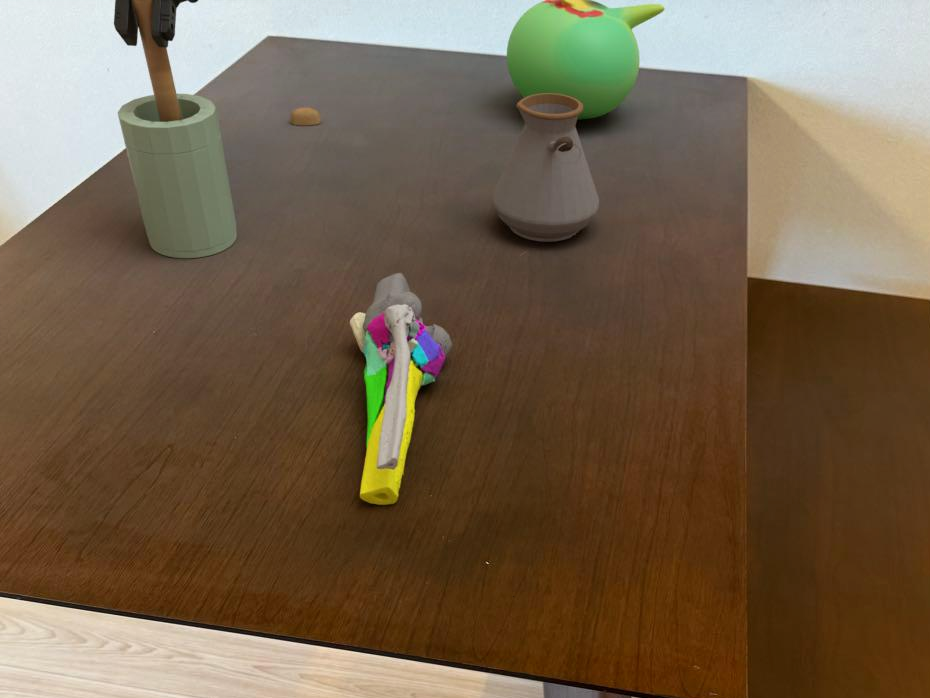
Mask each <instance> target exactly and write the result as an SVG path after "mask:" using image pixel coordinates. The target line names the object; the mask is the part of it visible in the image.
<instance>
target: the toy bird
mask: <svg viewBox="0 0 930 698" xmlns="http://www.w3.org/2000/svg"><path fill="white" fill-rule="evenodd" d="M665 9H666V8H665V6H664V5H662V4H657V3H656V4H655V3H653V4H651V3H649V4H638V5H631V6H622V7H609V6H607V5H605V4H603V3H601V2H598V1H595V0H543V1H540V2H539V3H536V4H535V5H533V6H531V7H529V8H528V9H527V10H526V11H525V12H524V13H523V14H522V15H521V16H520V17H519V19H518V20H517V21H516V22H515V24H514V26H513V28H512V30H511V33H510V35H509V37H508V38H509V39H508V41H507V47H506V64H507V70H508V73H509V76H510V79H511V82H512V83H513V85H514V87H515V89H516V90H517V91H518V93H519V94H520V95H521V96H522V98H525V97H527V96H530V95H534V94H541V93H553V94H562V95H566V96H570V97H573V98H575V99H577V100H579V101H580V102H581V103H582V104H583V111H582V112H581V114H580V115H578V118H577V121H578V120H590V119H594V118H598V117H602V116H603V115H606V114H607V113H610V112H611V111H614V110H615V109H616V108H617V107H619V106H620V105H621V104H622V103H623V102H624V101H625V100H626V98H627V97H628V96H629V94H630V93H631V91H632V90H633V88H634V86H635V84H636V81H637V80H638V79H637V78H638V76H639V70H640V61H641V59H640V50H639V45H638V41H637V38H636V36H635V34H634V31H633V29H634V28H636V27H638V26H639V25H642V24H643V23H645V22H647V21H649V20H652V19H653V18H655V17H657V16H658V15H660V14H661V13H663V12H664V11H665Z"/></svg>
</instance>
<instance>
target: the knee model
mask: <svg viewBox="0 0 930 698" xmlns="http://www.w3.org/2000/svg"><path fill="white" fill-rule="evenodd" d="M422 305H423V304H422V301H421V299H420V298H419V297H418V296H417V294H415V293H414V292H411V290H410V287H409V284H408V281H407V279H406V277H405V275H404V274H403V273H402V272H397V273H393V274H391V275H389V276H386V277H384V278H382V279H381V280H380V281H379V282H378V283H377V284H376V287H375V293H374V298H373V301H372V304H371V305H370V306H369V307H368V308H367V310H366V313H365V312H360V311H359V312H357V313H355V314H353V316H352V317H351V318H350V320H349V326H350V328H351V330H352V332H353V336H354V338H355V340H356V342H357V345H358V348H359V350H360V351H361V352H362V354H363V355H364V357H365V361H366V364H365V367H364V369H363V375H364V376H363V380H364V383H365V392H366V393H365V394H366V413H367V423H366V424H367V425H366V427H367V428H366V443H365V446H366V451H365V458H364V465H363V471H362V476H361V481H360V488H359V489H360V490H359V498H360V499H361V500H362V501H364V502H366V503H369V504H371V505H373V504H374V505H377V506H378V505H379V506H386V505H394V504H395V503H397V501H398V498H399V491H400V489H401V483H402V478H403V475H405V473H404V472H405V471H404V470H405V464H406V458H407V455H408V454H407V453H408V450H409V447H410V443H411V438H412V434H413V427H414V422H415V416H416V414H415V413H416V409H415V405H416V399H417V396H418V393H419V390H420V389H421V387H423V386H427V385H428V384H431V383H433V382H435V381H436V377H437V376H438V375H439V374H440V371H441V370H443V366H444V364H445V362H446V357H447V356H448V354H449V353H450V352H451V350H452V348H453V343H452V340H451V337H450V335H449V332H447V331H446V329H444V328H443V327H442V326H439V325H438V324H436V323H432V324H431V325H425V324H424V319H423V317H422V311H423V310H422V309H423V306H422Z"/></svg>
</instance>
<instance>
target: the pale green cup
mask: <svg viewBox="0 0 930 698" xmlns="http://www.w3.org/2000/svg"><path fill="white" fill-rule="evenodd" d="M176 94H177V99H178V103H179V108H180V113H181V117H182V120H178V121H170V122H160V118H159V114H158V109H157V105H156V101H155V96H154V94H151V95H146V96H142V97H139V98H134V99H132V100H130V101H128V102H126V103H124V104H123V105H121V107H120V108H119V109H118V111H117V118H118V120H119V125H120V128H121V129H120V130H121V134H122V138H123V141H124V145H125V151H126V154H127V159H128V162H129V166H130V171H131V175H132V179H133V183H134V187H135V191H136V194H137V199H138V205H139V208H140V212H141V217H142V221H143V224H144V228H145V233H146V236H147V238H148V243H149V246H150V247H151V249H152V250H153V251H155V252H156V253H157V254H159V255H162V256H164V257H170V258H175V259H199V258H205V257H209V256H212V255H213V256H214V255H216V254H219V253H222V252H223V251H225V250H227V249H229V248H231V246H232V245H234V243H235V242H236V241H237V237H238V232H237V222H236V215H235V211H234V205H233V198H232V194H231V188H230V181H229V176H228V171H227V165H226V157H225V154H224V146H223V140H222V136H221V135H222V134H221V129H220V124H219V118H218V111H217V107H216V106H215V104H214V103H213V101H212V100H210V99H207V98H206V97H204V96H201V95H195V94H190V93H176Z"/></svg>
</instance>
